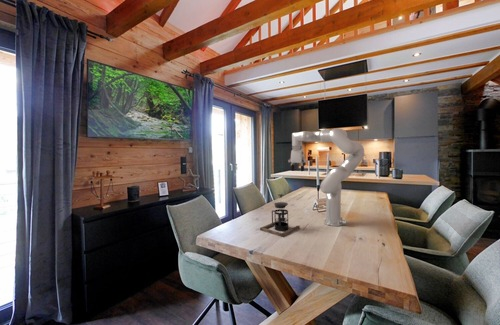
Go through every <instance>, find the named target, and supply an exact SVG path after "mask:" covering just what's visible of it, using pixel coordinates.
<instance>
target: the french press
mask: <svg viewBox="0 0 500 325" xmlns="http://www.w3.org/2000/svg"><path fill="white" fill-rule="evenodd" d="M277 196H278V197H279V198H280V199H282V196H285V195H284V194H283V193H279V194H277ZM273 205H274V208H276V209H274V210H271V223H272V224H275V225H274V231H276V232H285V231H287V230H290V227H289V210H287V209H285V208H286V207H287V206H288V205H289V203H288V202H284V201H280V202H279V201H278V202H275V203H274V204H273ZM276 215H277V216H276ZM285 215H286V217H285ZM276 221H277V222H276ZM273 222H275V223H273Z"/></svg>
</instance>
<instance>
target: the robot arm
mask: <svg viewBox="0 0 500 325" xmlns="http://www.w3.org/2000/svg"><path fill="white" fill-rule="evenodd" d="M303 142H321V143H330V142H331V143H333V144H334V145H335V146H336V148H337V149H339V150H340V151H341V152H342V153H344V154H347V155H348V156H347V157H346V158H344V161H342V163H341V164H339V166H335V167H333V168H332V169H331V170H330V171H329V172H328V173H327V174H326V175H325V177H324V178H323V179H322V180H321V182H320V186H319V188H320V191H321V192H322V193H323V194H326V195H325V214H326V215H325V218H326V219H324V220H323V223H324V224H325V225H327V226H331V227H341V226H343V225H344V224H347V223H348V220H346V219H343V217H342V214H341V213H342V212H341V211H342V210H341V207H342V206H341V204H342V203H341V196H342V182H343V181H346V180H347V179H348V178H349V177H350V176H351V175H352V174H353V172H354V171H355V170H356V168H358V166H359V165H360V163H361V162H362V161H363V159H364V156H365V149H364V146H363V145H362V143H361V142H359V141H357V140H351V139H350V137H348V133H347V131H346V130H345V129H343V128H333V129H322V130H320V131H307V130H306V131H305V130H303V131H299V132H292V133H291V148H292V150H291V151H290V158H289V159H288V160H287V162H288V164H289V165H290V170H291V171H295V164H300V165H301V166H300V171H301V172H303V171H304V170H305V165H307V163H308V159H306V158H305V153H304V150H303V149H304V146H303Z"/></svg>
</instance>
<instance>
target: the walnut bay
mask: <svg viewBox="0 0 500 325" xmlns="http://www.w3.org/2000/svg"><path fill="white" fill-rule="evenodd" d="M276 222H277V221H276ZM273 223H275V221H273ZM271 227H275V224H272V222H271V223H268V224H266V225H264V226H261V227H259V231H260V232H261V231H262V232H263V233H264V232H265V233H268V234H272V235H275V236H278V237H281V238H284V237H286V236H288V235H289V234H291V233H293V232H295V231H297V230H299V229H301V228H300V225H296V226H293V227H292V228H289V230H287V231H282V232H280V231H277V230H272V229H269V228H271Z"/></svg>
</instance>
